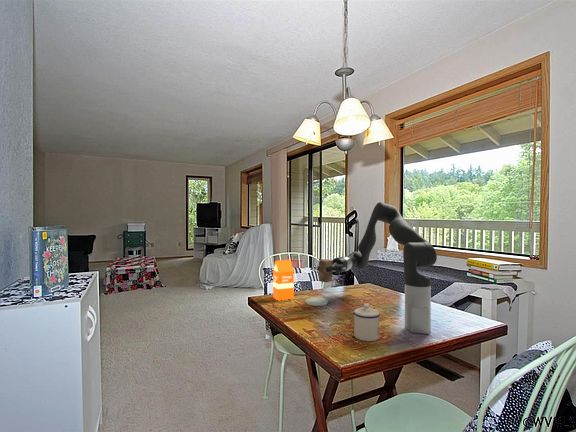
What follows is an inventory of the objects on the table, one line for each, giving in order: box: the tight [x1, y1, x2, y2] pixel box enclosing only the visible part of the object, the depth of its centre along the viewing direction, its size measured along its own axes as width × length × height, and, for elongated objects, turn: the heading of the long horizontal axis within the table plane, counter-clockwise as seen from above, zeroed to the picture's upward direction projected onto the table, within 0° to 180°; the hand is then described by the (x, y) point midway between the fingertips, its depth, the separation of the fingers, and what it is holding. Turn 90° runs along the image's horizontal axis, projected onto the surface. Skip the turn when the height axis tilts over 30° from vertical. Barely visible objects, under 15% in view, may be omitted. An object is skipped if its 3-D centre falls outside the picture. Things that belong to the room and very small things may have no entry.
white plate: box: [305, 296, 329, 307], centre depth 156 cm, size 11×11×1 cm
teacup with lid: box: [353, 303, 381, 342], centre depth 114 cm, size 12×9×12 cm
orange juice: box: [272, 259, 295, 302], centre depth 165 cm, size 8×9×20 cm
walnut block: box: [318, 258, 333, 283], centre depth 150 cm, size 4×4×10 cm
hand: (322, 269), depth 148 cm, fingers closed on walnut block, 4 cm apart
